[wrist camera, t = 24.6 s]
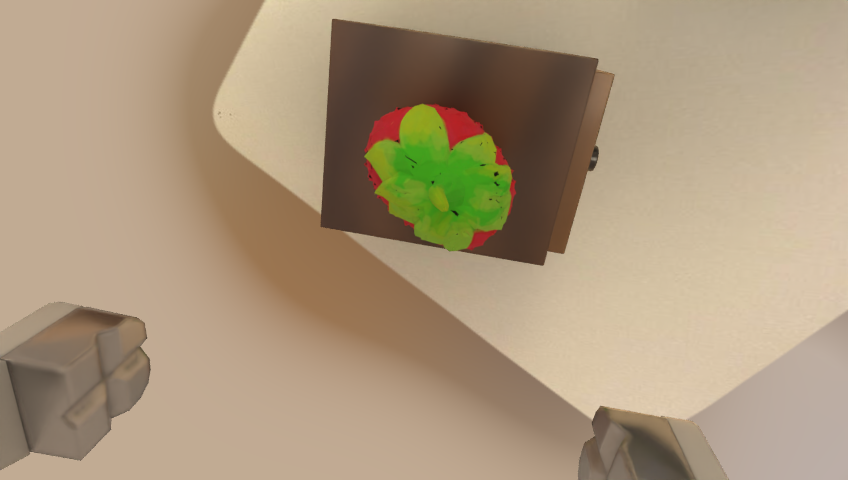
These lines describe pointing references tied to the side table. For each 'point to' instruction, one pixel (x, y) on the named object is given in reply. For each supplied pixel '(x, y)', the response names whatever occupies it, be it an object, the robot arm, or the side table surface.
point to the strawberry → (440, 175)
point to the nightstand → (466, 92)
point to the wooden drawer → (581, 159)
